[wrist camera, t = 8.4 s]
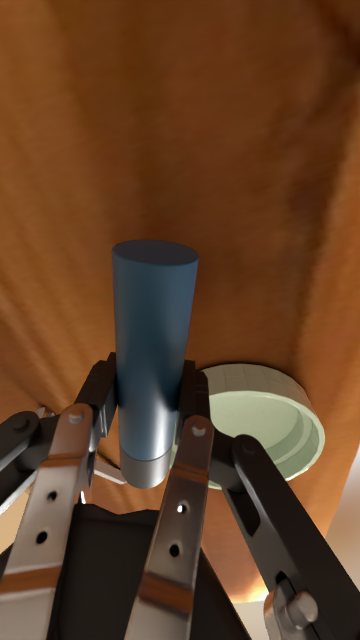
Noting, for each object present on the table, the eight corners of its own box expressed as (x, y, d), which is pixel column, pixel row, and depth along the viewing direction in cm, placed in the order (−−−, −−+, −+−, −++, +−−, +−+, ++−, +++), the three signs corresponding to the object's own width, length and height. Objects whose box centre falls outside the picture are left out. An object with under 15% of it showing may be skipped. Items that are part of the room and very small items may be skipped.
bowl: (167, 352, 29) (163, 381, 25) (334, 370, 29) (355, 402, 25) (157, 451, 38) (153, 482, 35) (282, 464, 39) (292, 497, 35)
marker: (123, 236, 11) (99, 258, 8) (198, 244, 11) (200, 269, 8) (126, 437, 18) (114, 486, 15) (171, 442, 18) (167, 492, 15)
